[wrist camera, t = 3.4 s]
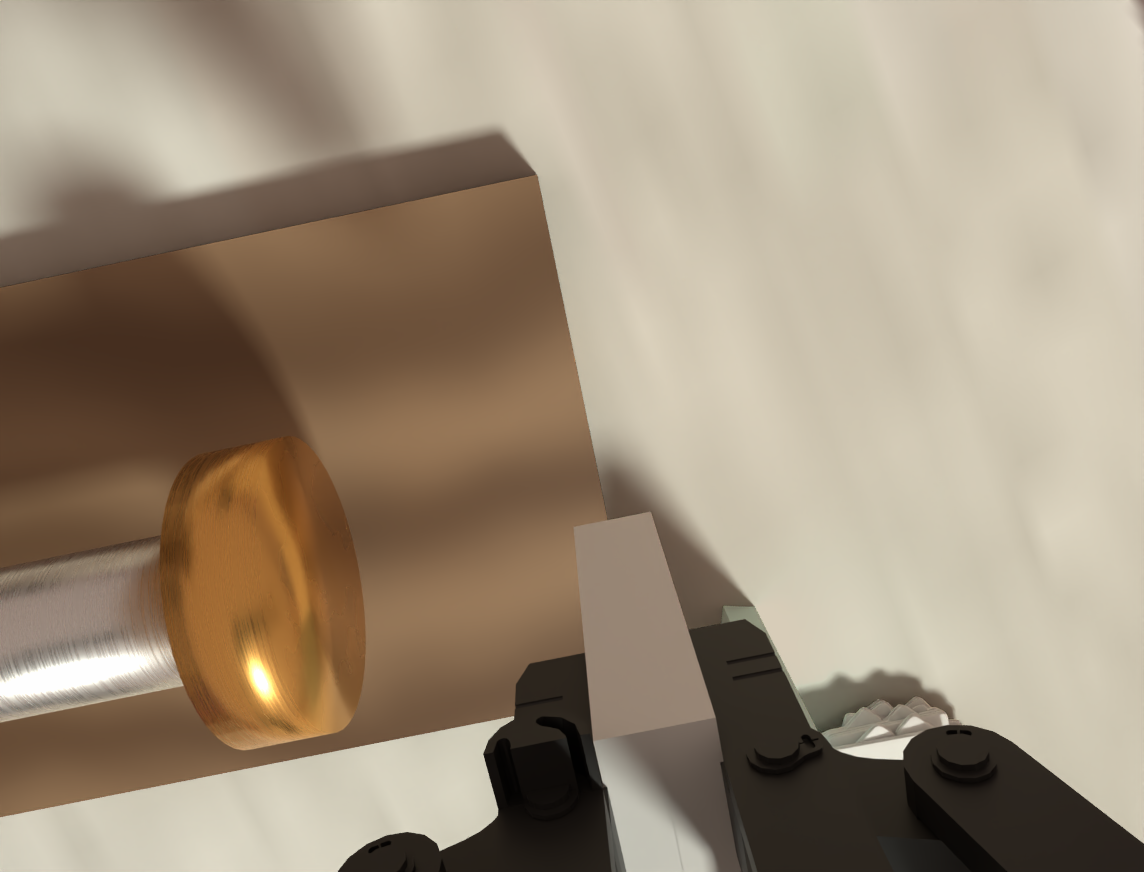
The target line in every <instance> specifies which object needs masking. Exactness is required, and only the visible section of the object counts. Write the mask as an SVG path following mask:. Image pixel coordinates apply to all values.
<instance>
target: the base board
mask: <svg viewBox="0 0 1144 872" xmlns="http://www.w3.org/2000/svg"><path fill="white" fill-rule="evenodd" d="M285 436H293V437H296V438H298V439H301V440H302V441H303V442H305V443H306V444H307V445H308V446H309V447H310V448H311V449H312V450H313V451H314V452H315V454H316V455H317V456H318V458H319V459H320V460H321V462H322V464H323V465H324V467H325V469H326V470H327V472H328V474H329V476H330V478H331V480H332V482H333V484H334V487H335V489H336V491H337V494H338V496H339V499H340V501H341V504H342V507H343V509H344V513H345V516H346V519H347V522H348V525H349V529H350V532H351V536H352V540H353V544H354V548H355V553H356V557H357V562H358V568H359V573H360V579H361V586H362V593H363V602H364V613H365V631H366V655H365V670H364V679H363V685H362V691H361V696H360V699H359V703H358V706H357V709H356V711H355V713H354V716H353V718H352V719H351V721H350V722H349V724H348V725H347V726H346V727H345V728H344V729H343V730H341V731H339V732H337V733H332V734H327V735H322V736H317V737H312V738H307V739H302V740H297V741H292V742H287V743H281V744H276V745H271V746H266V747H261V748H256V749H250V750H239V749H234V748H232V747H230V746H228V745H226V744H224V743H223V742H222V741H221V740H220V739H218V738H217V737H216V736H215V735H214V734H213V733H212V732H211V731H210V730H209V728H208V727H207V726H206V725H205V724H204V722H203V721H202V719H201V718H200V716H199V715H198V713H197V712H196V710H195V708H194V706H193V704H192V702H191V700H190V699H189V697H188V695H187V692H186V690H185V688H184V686H181V687H176V688H171V689H166V690H160V691H155V692H150V693H145V694H140V695H135V696H130V697H125V698H120V699H115V700H110V701H105V702H100V703H95V704H90V705H85V706H80V707H75V708H70V709H65V710H60V711H55V712H50V713H45V714H40V715H35V716H30V717H25V718H20V719H15V720H10V721H5V722H0V817H3V816H8V815H14V814H19V813H24V812H29V811H34V810H39V809H44V808H49V807H54V806H59V805H64V804H69V803H74V802H80V801H85V800H90V799H95V798H100V797H105V796H110V795H115V794H120V793H125V792H130V791H135V790H140V789H145V788H151V787H156V786H161V785H166V784H171V783H176V782H181V781H186V780H191V779H196V778H201V777H206V776H211V775H217V774H222V773H227V772H232V771H237V770H242V769H247V768H252V767H257V766H262V765H267V764H272V763H277V762H283V761H288V760H293V759H298V758H303V757H308V756H313V755H318V754H323V753H328V752H333V751H338V750H343V749H349V748H354V747H359V746H364V745H369V744H374V743H379V742H384V741H389V740H394V739H399V738H404V737H409V736H415V735H420V734H425V733H430V732H435V731H440V730H445V729H450V728H455V727H460V726H465V725H470V724H475V723H481V722H486V721H491V720H496V719H501V718H506V717H511V716H514V714H515V709H516V708H515V692H516V683H517V682H518V680H519V679H520V677H521V676H522V674H523V673H524V671H525V669H526V668H527V666H528V665H529V664H530V663H535V662H540V661H545V660H550V659H556V658H561V657H566V656H571V655H576V654H581V653H585V647H584V636H583V625H582V614H581V603H580V592H579V581H578V570H577V559H576V549H575V538H574V527H576V526H581V525H586V524H591V523H596V522H601V521H606V520H608V519H607V514H606V509H605V504H604V500H603V495H602V490H601V485H600V480H599V475H598V470H597V465H596V460H595V455H594V451H593V446H592V441H591V436H590V431H589V426H588V421H587V416H586V411H585V407H584V402H583V397H582V392H581V387H580V382H579V377H578V372H577V367H576V362H575V358H574V353H573V348H572V343H571V338H570V333H569V328H568V323H567V318H566V314H565V309H564V304H563V299H562V294H561V289H560V284H559V279H558V274H557V269H556V265H555V260H554V255H553V250H552V245H551V240H550V235H549V230H548V225H547V221H546V216H545V211H544V206H543V201H542V196H541V191H540V186H539V181H538V176H537V175H533V176H528V177H523V178H518V179H514V180H509V181H504V182H499V183H495V184H490V185H485V186H480V187H476V188H471V189H466V190H461V191H457V192H452V193H447V194H442V195H438V196H433V197H428V198H423V199H419V200H414V201H409V202H404V203H400V204H395V205H390V206H385V207H381V208H376V209H371V210H366V211H362V212H357V213H352V214H347V215H343V216H338V217H333V218H328V219H324V220H319V221H314V222H309V223H305V224H300V225H295V226H290V227H286V228H281V229H276V230H271V231H267V232H262V233H257V234H252V235H248V236H243V237H238V238H233V239H229V240H224V241H219V242H214V243H210V244H205V245H200V246H195V247H191V248H186V249H181V250H176V251H172V252H167V253H162V254H157V255H153V256H148V257H143V258H138V259H134V260H129V261H124V262H119V263H115V264H110V265H105V266H100V267H96V268H91V269H86V270H81V271H77V272H72V273H67V274H62V275H58V276H53V277H48V278H43V279H39V280H34V281H29V282H24V283H20V284H15V285H10V286H5V287H1V288H0V568H1V567H6V566H11V565H16V564H21V563H26V562H31V561H36V560H41V559H46V558H51V557H55V556H60V555H65V554H70V553H75V552H80V551H85V550H90V549H95V548H100V547H105V546H110V545H114V544H119V543H124V542H129V541H134V540H139V539H144V538H149V537H154V536H159V535H161V529H162V522H163V516H164V511H165V506H166V503H167V499H168V496H169V492H170V490H171V487H172V485H173V483H174V480H175V478H176V476H177V475H178V473H179V472H180V470H181V469H182V467H183V466H184V465H185V464H186V463H187V462H188V461H189V460H190V459H192V458H193V457H195V456H196V455H199V454H203V453H207V452H212V451H217V450H221V449H226V448H231V447H236V446H241V445H246V444H251V443H255V442H260V441H265V440H270V439H275V438H280V437H285Z"/></svg>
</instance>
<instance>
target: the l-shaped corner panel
mask: <svg viewBox="0 0 1144 872" xmlns="http://www.w3.org/2000/svg"><path fill="white" fill-rule="evenodd" d="M743 619H746V620H747V621H749V622H750V623H752V624H753V625H755V626H756V627H757V628H759V629H760V630H762V631H763V632H765V633H766V635H767V637H768V639H769V641H770V643H771V645H772V647H773V650H774V652H775V656H777V658H778V660H779V662H780V664H781V666H782V670H783V671H784V673H785V675H786V677H787V679H788V681H789V683H790V685H791V687H792V689H793V691H794V694H795V696H796V698H797V700H798V702H799V704H800V706H801V708H802V710H803V712H804V715H805V717H806V719H807V721H808V723H809V725H810V727H811V728H812V729H814V730H816V731H818V730H817V728H816V726H815V724H814V723H813V721H812V719H811V717H810V715H809V713H808V711H807V709H806V707H805V705H804V703H803V701H802V699H801V697H800V695H799V693H798V691H797V689H796V687H795V685H794V683H793V681H792V679H791V677H790V675H789V673H788V671H787V669H786V667H785V665H784V663H783V661H782V659H781V657H780V656H779V654H778V652H777V650H776V648H775V646H774V644H773V642H772V640H771V638H770V636H769V634H768V632H767V630H766V628H765V626H764V624H763V622H762V620H761V618H760V616H759V614H758V612H757V610H756V608H755V607H751V606H723V611H722V620H721V624H722V623H727V622H732V621H737V620H743ZM945 725H961V723H960V722H959V721H958V720H956V719H948V716H947V714H946V713H945V711H942V710H941V709H939V708H937V707H931V706H930V705H929V704H928V703H927V702H926V701H925V700H924V699H923V698H921V697H918V696H915V697H913V698H912V699H911V700H909V701H908V702H907V703H906V704H905V705H902V704H898V705H897V706H896V707H894V708H893V707H892V706H891V705H890V704H889V703H888V702H887V701H885V700H880V699H878V700H876V701H875V702H873V703H872V704H871V705H869V706H868V707H867V708H865V707H862V708H860V709H859V710H858V711H857V712H856V713H847V714H846V715H845V717H844V719H843V723H842V727H839V728H834V729H830V730H827V731H825V732H821V734H822V735H823V736H824V737H825V738H826V739H827V741H828V742H829V743H830V744H831V745H832V747H833V748H834V749H836V750H838V751H840V752H843V753H846V754H850V755H853V756H857V757H864V758H873V759H895V760H902V759H903V751H904V749H905V747H906V746H907V744H908V743H909V741H910V740H911V738H913V737H915V736H917V735H918V734H920V733H922V732H923V731H925V730H927V729H931V728H936V727H940V726H945Z"/></svg>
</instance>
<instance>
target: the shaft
mask: <svg viewBox="0 0 1144 872" xmlns="http://www.w3.org/2000/svg"><path fill="white" fill-rule="evenodd" d="M365 655H366V631H365V613H364V602H363V593H362V586H361V579H360V573H359V568H358V562H357V557H356V553H355V548H354V544H353V540H352V536H351V532H350V529H349V525H348V522H347V519H346V516H345V513H344V509H343V507H342V504H341V501H340V499H339V496H338V494H337V491H336V489H335V487H334V484H333V482H332V480H331V478H330V476H329V474H328V472H327V470H326V469H325V467H324V465H323V464H322V462H321V460H320V459H319V458H318V456H317V455H316V454H315V452H314V451H313V450H312V449H311V448H310V447H309V446H308V445H307V444H306V443H305V442H303V441H302V440H301V439H298V438H296V437H293V436H285V437H280V438H275V439H270V440H265V441H260V442H255V443H251V444H246V445H241V446H236V447H231V448H226V449H221V450H217V451H212V452H207V453H203V454H199V455H196V456H195V457H193V458H192V459H190V460H189V461H188V462H187V463H186V464H185V465H184V466H183V467H182V469H181V470H180V472H179V473H178V475H177V476H176V478H175V480H174V483H173V485H172V487H171V490H170V492H169V496H168V499H167V503H166V506H165V511H164V516H163V522H162V529H161V535H159V536H154V537H149V538H144V539H139V540H134V541H129V542H124V543H119V544H114V545H110V546H105V547H100V548H95V549H90V550H85V551H80V552H75V553H70V554H65V555H60V556H55V557H51V558H46V559H41V560H36V561H31V562H26V563H21V564H16V565H11V566H6V567H1V568H0V722H5V721H10V720H15V719H20V718H25V717H30V716H35V715H40V714H45V713H50V712H55V711H60V710H65V709H70V708H75V707H80V706H85V705H90V704H95V703H100V702H105V701H110V700H115V699H120V698H125V697H130V696H135V695H140V694H145V693H150V692H155V691H160V690H166V689H171V688H176V687H181V686H184V688H185V690H186V692H187V695H188V697H189V699H190V700H191V702H192V704H193V706H194V708H195V710H196V712H197V713H198V715H199V716H200V718H201V719H202V721H203V722H204V724H205V725H206V726H207V727H208V728H209V730H210V731H211V732H212V733H213V734H214V735H215V736H216V737H217V738H218V739H220V740H221V741H222V742H223V743H224V744H226V745H228V746H230V747H232V748H234V749H239V750H250V749H256V748H261V747H266V746H271V745H276V744H281V743H287V742H292V741H297V740H302V739H307V738H312V737H317V736H322V735H327V734H332V733H337V732H339V731H341V730H343V729H344V728H345V727H346V726H347V725H348V724H349V722H350V721H351V719H352V718H353V716H354V713H355V711H356V709H357V706H358V703H359V699H360V696H361V691H362V685H363V679H364V670H365Z"/></svg>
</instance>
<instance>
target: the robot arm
mask: <svg viewBox="0 0 1144 872" xmlns="http://www.w3.org/2000/svg"><path fill="white" fill-rule="evenodd" d="M574 538H575V549H576V559H577V570H578V581H579V592H580V603H581V614H582V625H583V636H584V647H585V653H581V654H576V655H571V656H566V657H561V658H556V659H550V660H545V661H540V662H535V663H530V664H529V665H528V666H527V668H526V669H525V671H524V673H523V674H522V676H521V677H520V679H519V680H518V682H517V683H516V692H515V708H516V709H515V714H514V720H513V721H511V722H509V723H508V724H506V725H504V726H503V727H501V728H500V729H499V730H498V731H497V732H496V733H495V734H494V735H493V736H492V737H491V738H490V739H489V741H488V743H487V746H486V749H485V751H484V754H483V755H484V758H485V762H486V766H487V769H488V773H489V777H490V780H491V784H492V788H493V791H494V795H495V799H496V802H497V806H498V816H497V818H496V819H495V820H494V821H493V822H492V823H491V824H489V825H488V826H487V827H485V828H484V829H483V830H482V831H480V832H479V833H477V834H475V835H473V836H471V837H469V838H468V839H466V840H464V841H462V842H459V843H457V844H455V845H453V846H450V847H448V848H446V849H444V850H441V851H439V848H438V846H437V843H435V842H434V841H432V840H431V839H430V838H428V837H427V836H425V835H422V834H416V833H409V832H405V833H399V834H393V835H387V836H384V837H382V838H380V839H378V840H375V841H373V842H371V843H368V844H366V845H365V846H364V847H362V848H361V849H360V850H358V851H357V852H356V853H354V854H353V855H352V856H350V857H349V858H348V859H347V861H346V862H345V863H344V864H343V866H342V867H341V868H340V869H339V871H338V872H1144V844H1143V843H1142V842H1141V841H1139V840H1138V839H1137V838H1136V837H1134V836H1133V835H1132V834H1130V833H1129V832H1128V831H1126V830H1125V829H1124V828H1123V827H1121V826H1120V825H1119V824H1117V823H1116V822H1115V821H1114V820H1112V819H1111V818H1110V817H1108V816H1107V815H1106V814H1105V813H1103V812H1102V811H1101V810H1099V809H1098V808H1097V807H1095V806H1094V805H1093V804H1092V803H1090V802H1089V801H1088V800H1086V799H1085V798H1084V797H1083V796H1081V795H1080V794H1079V793H1077V792H1076V791H1075V790H1074V789H1072V788H1071V787H1070V786H1068V785H1067V784H1066V783H1064V782H1063V781H1062V780H1061V779H1059V778H1058V777H1057V776H1055V775H1054V774H1053V773H1052V772H1050V771H1049V770H1048V769H1046V768H1045V767H1044V766H1042V765H1041V764H1040V763H1039V762H1037V761H1036V760H1035V759H1033V758H1032V757H1031V756H1030V755H1028V754H1027V753H1026V752H1024V751H1023V750H1022V749H1021V748H1019V747H1018V746H1017V745H1015V744H1014V743H1013V742H1011V741H1009V740H1008V739H1006V738H1004V737H1002V736H1000V735H999V734H997V733H995V732H993V731H989V730H986V729H982V728H978V727H974V726H968V725H945V726H940V727H936V728H931V729H927V730H925V731H923V732H922V733H920V734H918V735H917V736H915V737H913V738H911V740H910V741H909V743H908V744H907V746H906V747H905V749H904V751H903V760H895V759H873V758H864V757H857V756H853V755H850V754H846V753H843V752H840V751H838V750H836V749H834V748H833V747H832V745H831V744H830V743H829V742H828V741H827V739H826V738H825V737H824V736H823V735H822V734H821V733H820V732H818V731H816V730H814V729H812V728H811V727H810V725H809V723H808V721H807V719H806V717H805V715H804V712H803V710H802V708H801V706H800V704H799V702H798V700H797V698H796V696H795V694H794V691H793V689H792V687H791V685H790V683H789V681H788V679H787V677H786V675H785V673H784V671H783V670H782V666H781V664H780V662H779V660H778V658H777V656H775V652H774V650H773V647H772V645H771V643H770V641H769V639H768V637H767V635H766V633H765V632H763V631H762V630H760V629H759V628H757V627H756V626H755V625H753V624H752V623H750V622H749V621H747V620H746V619H743V620H737V621H732V622H727V623H722V624H717V625H712V626H707V627H702V628H697V629H692V630H688V628H687V625H686V622H685V618H684V615H683V612H682V609H681V606H680V603H679V599H678V596H677V593H676V590H675V587H674V584H673V580H672V577H671V574H670V571H669V568H668V565H667V561H666V558H665V555H664V552H663V549H662V546H661V542H660V539H659V536H658V533H657V530H656V526H655V523H654V520H653V517H652V514H651V512H646V513H641V514H636V515H631V516H626V517H621V518H616V519H611V520H606V521H601V522H596V523H591V524H586V525H581V526H576V527H574Z"/></svg>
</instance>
